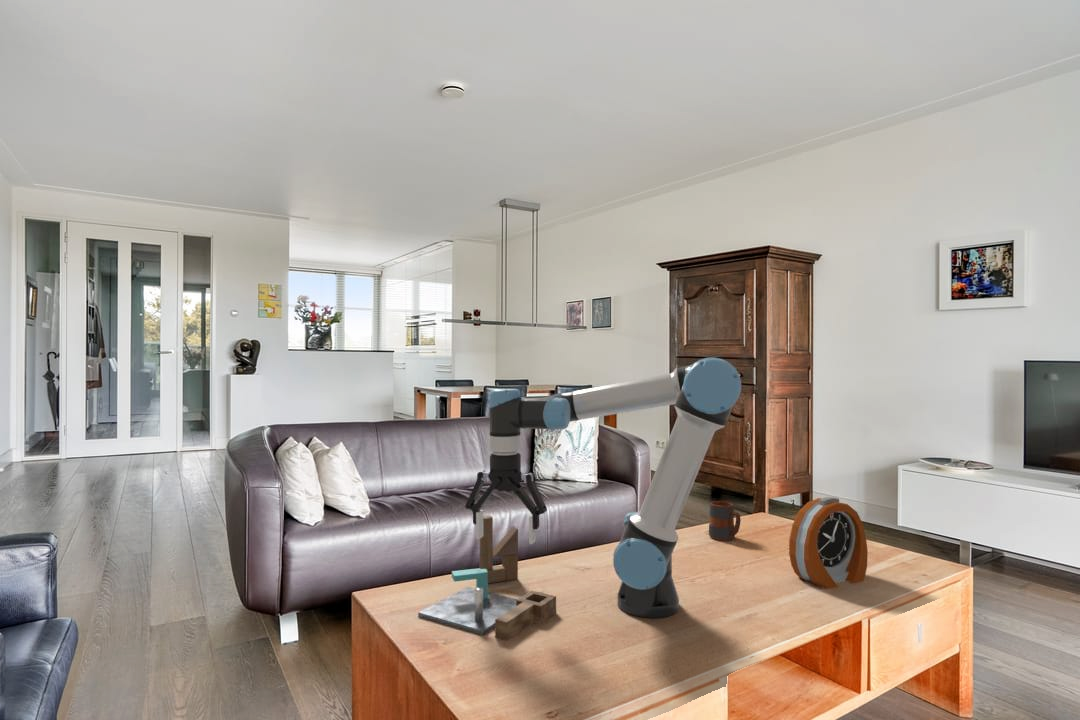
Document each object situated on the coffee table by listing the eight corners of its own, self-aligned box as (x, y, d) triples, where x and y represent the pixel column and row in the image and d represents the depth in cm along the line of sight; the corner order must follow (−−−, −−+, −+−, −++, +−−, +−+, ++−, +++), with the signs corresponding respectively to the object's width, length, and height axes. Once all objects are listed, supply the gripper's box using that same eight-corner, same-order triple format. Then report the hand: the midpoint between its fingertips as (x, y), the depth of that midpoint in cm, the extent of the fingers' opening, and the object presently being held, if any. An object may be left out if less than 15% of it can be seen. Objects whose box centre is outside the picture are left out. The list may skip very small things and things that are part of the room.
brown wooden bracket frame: (518, 579, 173) (518, 515, 173) (481, 585, 169) (481, 519, 169) (513, 575, 176) (513, 511, 176) (477, 580, 172) (477, 515, 172)
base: (528, 605, 155) (528, 573, 155) (482, 635, 139) (482, 599, 139) (467, 590, 165) (467, 560, 165) (418, 616, 149) (418, 583, 148)
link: (531, 606, 155) (531, 590, 154) (556, 612, 151) (556, 596, 151) (487, 635, 139) (487, 617, 139) (514, 642, 135) (514, 624, 135)
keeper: (488, 602, 157) (488, 572, 157) (454, 606, 154) (454, 576, 154) (485, 596, 161) (485, 567, 161) (451, 601, 158) (451, 571, 158)
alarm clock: (816, 591, 165) (816, 506, 165) (787, 579, 174) (788, 498, 174) (874, 579, 174) (874, 498, 174) (844, 568, 183) (844, 491, 183)
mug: (731, 545, 204) (731, 510, 204) (703, 536, 214) (703, 502, 214) (748, 541, 209) (748, 506, 209) (720, 532, 219) (720, 499, 219)
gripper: (558, 452, 151) (559, 539, 151) (464, 448, 158) (465, 531, 158) (550, 457, 144) (550, 548, 144) (451, 452, 151) (452, 540, 151)
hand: (505, 540), depth 151 cm, fingers open, 13 cm apart
